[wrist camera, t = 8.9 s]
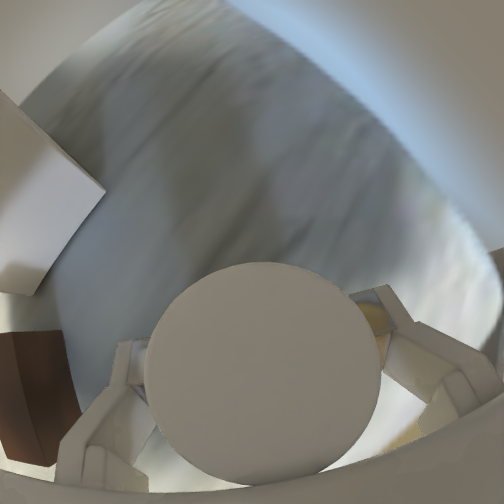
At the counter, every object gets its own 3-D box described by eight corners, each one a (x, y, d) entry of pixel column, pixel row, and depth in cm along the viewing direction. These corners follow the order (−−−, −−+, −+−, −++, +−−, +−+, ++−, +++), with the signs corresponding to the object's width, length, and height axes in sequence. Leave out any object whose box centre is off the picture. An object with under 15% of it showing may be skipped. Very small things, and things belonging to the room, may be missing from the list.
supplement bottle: (243, 413, 12) (220, 535, 4) (182, 322, 13) (72, 333, 5) (337, 352, 13) (442, 404, 4) (277, 261, 13) (302, 183, 5)
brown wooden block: (23, 334, 13) (-26, 336, 9) (62, 329, 13) (11, 331, 10) (49, 437, 12) (7, 459, 8) (90, 440, 12) (49, 468, 8)
